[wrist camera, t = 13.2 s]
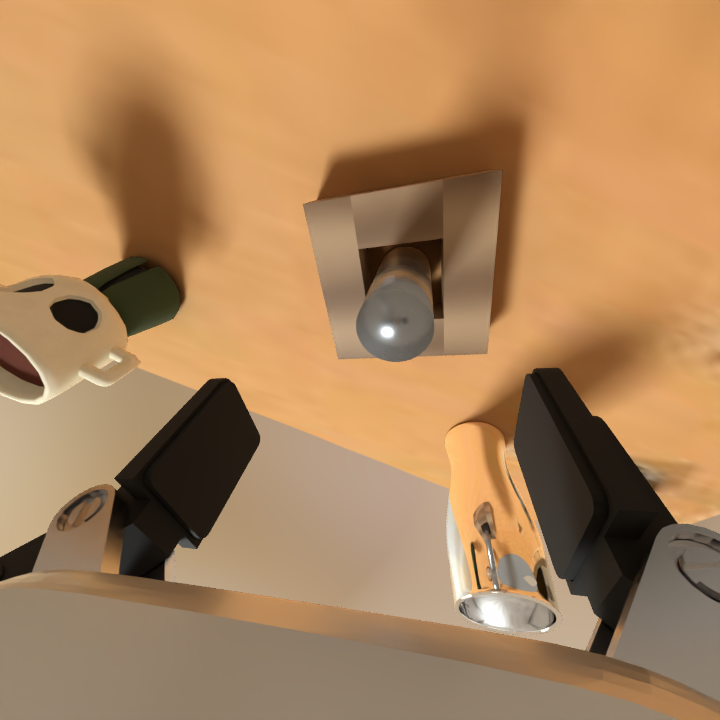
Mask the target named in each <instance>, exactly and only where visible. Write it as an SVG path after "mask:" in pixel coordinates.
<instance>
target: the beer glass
mask: <svg viewBox="0 0 720 720" xmlns="http://www.w3.org/2000/svg"><path fill="white" fill-rule="evenodd" d="M445 447H446V451H447V454H448V457H449V461H450V465H451V484H450V493H449V502H448V510H447V527H446V529H447V549H448V561H449V568H450V576H451V583H452V590H453V597H454V609H455V611H456V613H457V614H458V615H459V616H460V617H461V618H462V619H464V620H465V621H467V622H469V623H470V624H473V625H475V626H477V627H480V628H483V629H487V630H490V631H495V632H500V633H506V634H515V635H534V634H542V633H546V632H550V631H552V630H554V629H556V628H558V627H559V626H560V625H561V623H562V616H561V613H560V610H559V606H558V603H557V598H556V594H555V589H554V584H553V580H552V576H551V572H550V568H549V564H548V561H547V557H546V554H545V550H544V547H543V544H542V541H541V538H540V535H539V533H538V530H537V527H536V525H535V523H534V520H533V518H532V516H531V514H530V511H529V509H528V507H527V505H526V503H525V501H524V499H523V497H522V495H521V494H520V492H519V490H518V488H517V486H516V484H515V482H514V480H513V478H512V476H511V474H510V471H509V468H508V465H507V461H506V447H505V439H504V436H503V434H502V433H501V432H500V431H499V430H498V429H497V428H496V427H494V426H492V425H490V424H487V423H483V422H466V423H462V424H459V425H457V426H455V427H454V428H452V429H451V430H450V431H449V432H448V433H447V435H446V438H445Z"/></svg>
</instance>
